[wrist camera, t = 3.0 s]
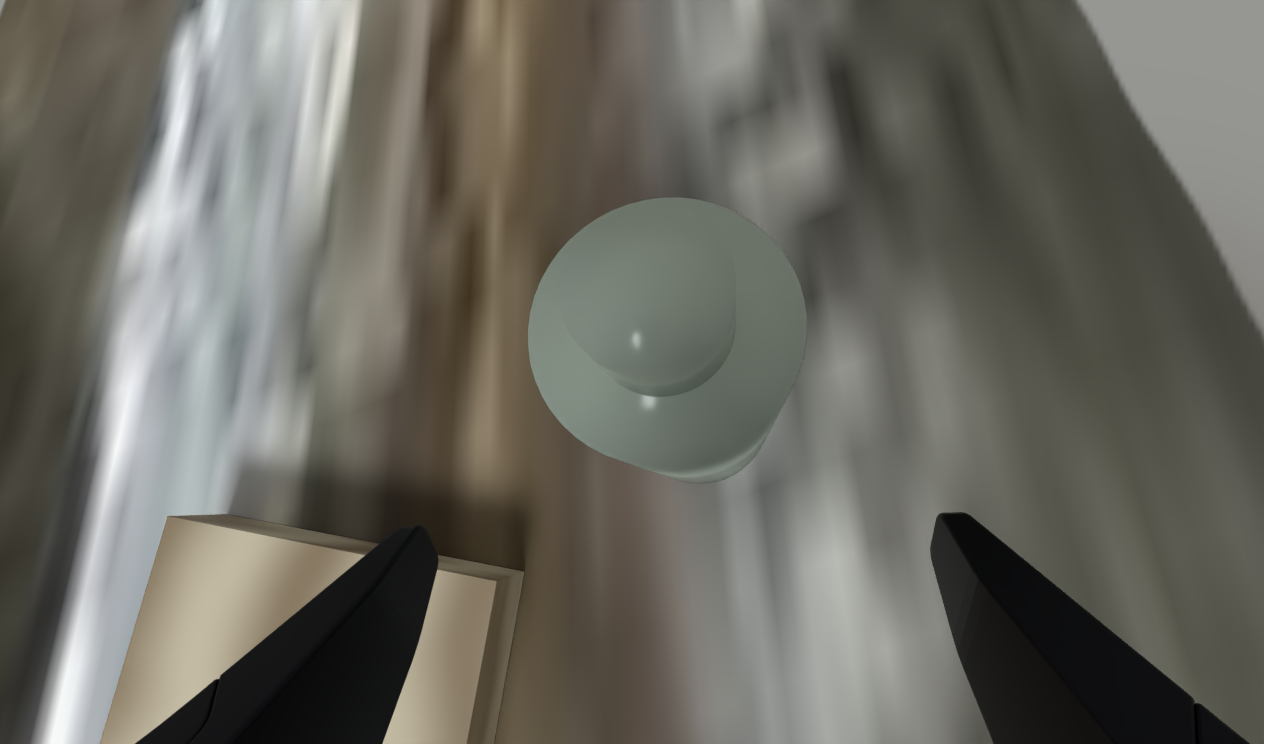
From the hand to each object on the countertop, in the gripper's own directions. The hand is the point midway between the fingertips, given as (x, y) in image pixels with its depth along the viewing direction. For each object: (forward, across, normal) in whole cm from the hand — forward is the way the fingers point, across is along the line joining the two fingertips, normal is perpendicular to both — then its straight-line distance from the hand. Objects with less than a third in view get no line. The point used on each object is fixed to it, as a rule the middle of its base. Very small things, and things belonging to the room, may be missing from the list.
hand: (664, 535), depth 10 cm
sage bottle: (+10, 0, +5) cm, 11 cm away
